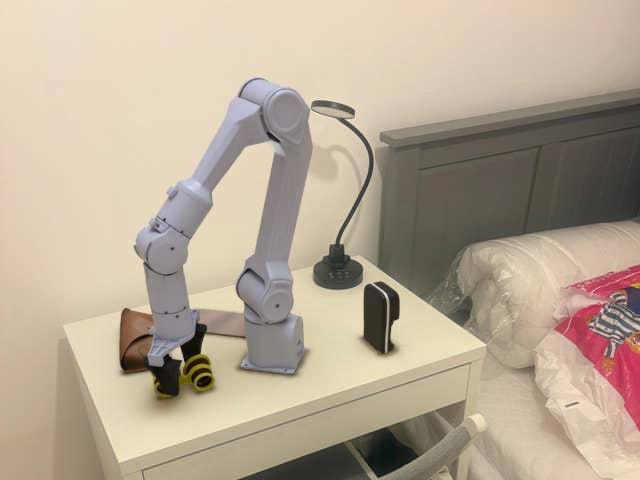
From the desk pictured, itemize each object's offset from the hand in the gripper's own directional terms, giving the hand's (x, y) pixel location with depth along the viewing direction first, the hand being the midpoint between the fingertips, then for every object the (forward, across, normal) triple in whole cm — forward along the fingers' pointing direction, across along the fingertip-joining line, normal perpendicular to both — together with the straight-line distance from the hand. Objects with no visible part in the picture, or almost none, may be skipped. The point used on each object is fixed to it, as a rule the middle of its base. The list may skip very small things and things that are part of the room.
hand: (182, 379), depth 106 cm
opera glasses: (+2, 0, 0) cm, 2 cm away
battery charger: (+2, -20, +29) cm, 35 cm away
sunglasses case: (+2, -11, -12) cm, 17 cm away
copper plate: (+1, -21, -2) cm, 21 cm away
